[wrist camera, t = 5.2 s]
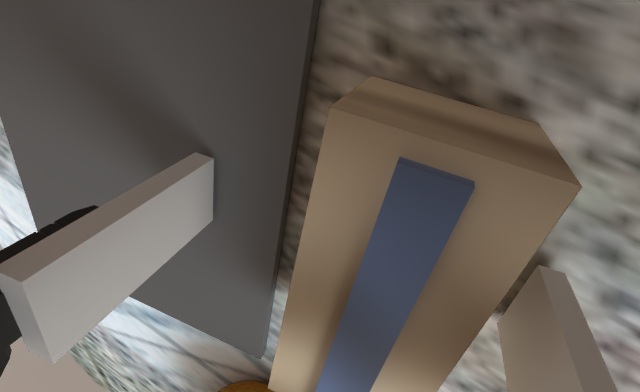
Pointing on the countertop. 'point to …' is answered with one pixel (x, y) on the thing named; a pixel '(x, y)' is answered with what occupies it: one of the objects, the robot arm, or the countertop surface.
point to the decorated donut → (247, 387)
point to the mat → (166, 130)
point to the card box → (411, 238)
